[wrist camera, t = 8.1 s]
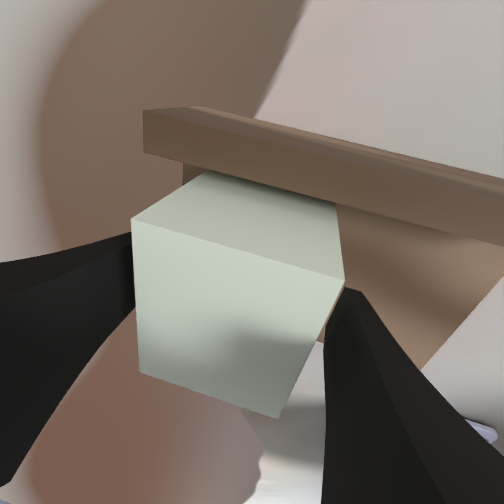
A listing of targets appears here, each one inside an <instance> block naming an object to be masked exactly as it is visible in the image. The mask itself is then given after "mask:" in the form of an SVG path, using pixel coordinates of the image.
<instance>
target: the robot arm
mask: <svg viewBox="0 0 504 504" xmlns="http://www.w3.org/2000/svg"><path fill="white" fill-rule="evenodd" d="M135 307H136V300H135V283H134V266H133V249H132V232H128V233H125V234H121V235H118V236H115V237H111V238H108V239H104V240H101V241H98V242H94V243H91V244H87V245H83V246H79V247H75V248H71V249H68V250H63V251H60V252H55V253H51V254H46V255H42V256H37V257H31V258H26V259H21V260H15V261H9V262H1V263H0V487H2V486H4V485H5V484H7V483H8V482H10V481H11V479H12V478H13V476H14V474H15V473H16V471H17V469H18V468H19V466H20V464H21V463H22V461H23V460H24V458H25V456H26V454H27V453H28V451H29V450H30V448H31V446H32V445H33V443H34V441H35V440H36V438H37V437H38V435H39V434H40V432H41V430H42V429H43V427H44V426H45V424H46V423H47V421H48V420H49V418H50V417H51V415H52V414H53V412H54V411H55V409H56V407H57V406H58V405H59V403H60V401H61V400H62V398H63V397H64V396H65V394H66V393H67V391H68V390H69V388H70V387H71V386H72V384H73V383H74V381H75V380H76V378H77V377H78V375H79V374H80V373H81V371H82V370H83V369H84V367H85V366H86V364H87V363H88V362H89V361H90V359H91V358H92V356H93V355H94V354H95V352H96V351H97V350H98V348H99V347H100V346H101V345H102V344H103V342H104V341H105V340H106V338H108V336H109V335H110V334H111V333H112V332H113V331H114V330H115V329H116V328H117V326H118V325H119V324H120V323H121V322H122V321H123V320H124V319H125V318H126V317H127V316H128V314H129V313H130V312H131V311H132V310H133V309H134V308H135ZM323 357H324V381H325V403H326V435H325V454H324V469H323V484H322V497H321V504H504V456H503V455H501V454H500V453H499V452H498V451H497V450H496V449H495V448H494V447H493V446H492V445H491V443H492V442H494V441H495V440H497V439H498V434H497V433H496V431H495V430H494V429H493V428H491V427H488V426H485V425H482V424H479V423H476V422H472V421H469V420H466V419H464V418H463V417H462V416H461V415H460V414H459V413H458V412H457V411H456V410H455V409H454V408H453V407H452V406H451V405H450V404H449V403H448V402H447V401H446V399H445V398H444V397H443V396H442V395H441V394H440V393H439V392H438V391H437V390H436V388H435V387H434V386H433V385H432V384H431V383H430V382H429V381H428V380H427V378H426V377H425V376H424V375H423V374H422V373H421V371H420V370H419V369H418V368H417V367H416V365H415V364H414V363H413V362H412V360H411V359H410V358H409V357H408V355H407V354H406V353H405V352H404V350H403V349H402V348H401V346H400V345H399V344H398V342H397V341H396V340H395V338H394V337H393V336H392V334H391V333H390V331H389V330H388V329H387V327H386V326H385V324H384V323H383V322H382V320H381V319H380V317H379V316H378V314H377V313H376V311H375V310H374V308H373V307H372V306H371V304H370V303H369V301H368V300H367V298H366V297H365V295H364V294H363V293H362V292H361V291H358V290H355V289H351V288H348V287H344V289H343V291H342V293H341V295H340V297H339V299H338V301H337V303H336V305H335V307H334V309H333V311H332V313H331V315H330V317H329V320H328V322H327V324H326V326H325V336H324V348H323ZM0 504H9V503H7V502H5V501H3V500H0Z"/></svg>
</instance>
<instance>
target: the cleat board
mask: <svg viewBox="0 0 504 504" xmlns="http://www.w3.org/2000/svg"><path fill="white" fill-rule="evenodd" d="M143 134H144V135H143V136H144V137H143V138H144V152H145V153H149V154H153V155H157V156H160V157H164V158H168V159H172V160H176V161H180V162H183V163H184V166H183V184H182V186H183V185H185V184H186V183H188V182H190V181H191V180H193V179H194V178H196V177H197V176H199V175H201V174H202V173H204V172H205V171H207V170H209V169H210V170H214V171H217V172H221V173H225V174H229V175H233V176H236V177H240V178H244V179H248V180H252V181H255V182H259V183H263V184H267V185H271V186H274V187H278V188H282V189H286V190H289V191H293V192H297V193H301V194H305V195H308V196H312V197H316V198H320V199H324V200H327V201H331V202H335V205H336V213H337V221H338V229H339V237H340V245H341V253H342V261H343V269H344V277H345V282H344V284H343V286H342V288H341V290H340V292H339V294H338V296H337V298H336V300H335V302H334V305H333V307H332V309H331V311H330V313H329V315H328V317H327V319H326V321H325V323H324V325H323V327H322V329H321V331H320V333H319V336H318V338H317V340H316V341H319V342H322V343H324V336H325V326H326V324H327V322H328V320H329V317H330V315H331V313H332V311H333V309H334V307H335V305H336V303H337V301H338V299H339V297H340V295H341V293H342V291H343V289H344V287H348V288H351V289H355V290H358V291H361V292H362V293H363V294H364V295H365V297H366V298H367V300H368V301H369V303H370V304H371V306H372V307H373V308H374V310H375V311H376V313H377V314H378V316H379V317H380V319H381V320H382V322H383V323H384V324H385V326H386V327H387V329H388V330H389V331H390V333H391V334H392V336H393V337H394V338H395V340H396V341H397V342H398V344H399V345H400V346H401V348H402V349H403V350H404V352H405V353H406V354H407V355H408V357H409V358H410V359H411V360H412V362H413V363H414V364H415V365H416V367H417V368H418V369H419V370H421V369H422V368H423V367H424V365H425V364H426V363H427V362H428V361H429V360H430V359H431V357H432V356H433V355H434V354H435V353H436V352H437V351H438V350H439V348H440V347H441V346H442V345H443V344H444V343H445V342H446V340H447V339H448V338H449V337H450V336H451V335H452V334H453V332H454V331H455V330H456V329H457V328H458V327H459V326H460V325H461V323H462V322H463V321H464V320H465V319H466V318H467V317H468V315H469V314H470V313H471V312H472V311H473V310H474V309H475V308H476V306H477V305H478V304H479V303H480V302H481V301H482V300H483V298H484V297H485V296H486V295H487V294H488V293H489V292H490V290H491V289H492V288H493V287H494V286H495V285H496V284H497V283H498V281H499V280H500V279H501V278H502V277H503V276H504V179H501V178H497V177H493V176H489V175H485V174H480V173H476V172H472V171H468V170H464V169H460V168H456V167H451V166H447V165H443V164H439V163H435V162H431V161H427V160H422V159H418V158H414V157H410V156H406V155H402V154H398V153H393V152H389V151H385V150H381V149H377V148H373V147H369V146H364V145H360V144H356V143H352V142H348V141H344V140H340V139H335V138H331V137H327V136H323V135H319V134H315V133H311V132H306V131H302V130H298V129H294V128H290V127H286V126H281V125H277V124H273V123H269V122H265V121H261V120H257V119H252V118H248V117H244V116H240V115H236V114H232V113H228V112H223V111H219V110H215V109H211V108H206V107H203V106H198V107H197V106H196V107H185V108H184V107H182V108H168V109H155V110H143Z"/></svg>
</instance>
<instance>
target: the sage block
mask: <svg viewBox="0 0 504 504" xmlns="http://www.w3.org/2000/svg"><path fill="white" fill-rule="evenodd" d="M131 232H132V249H133V266H134V283H135V300H136V317H137V334H138V352H139V369H140V372H141V373H144V374H147V375H150V376H153V377H155V378H159V379H161V380H164V381H167V382H170V383H173V384H176V385H179V386H181V387H184V388H187V389H190V390H193V391H196V392H199V393H202V394H205V395H207V396H210V397H213V398H217V399H219V400H222V401H225V402H228V403H231V404H234V405H236V406H239V407H242V408H245V409H248V410H251V411H254V412H257V413H260V414H262V415H265V416H268V417H271V418H274V419H277V420H278V418H279V416H280V414H281V412H282V410H283V408H284V406H285V404H286V402H287V400H288V398H289V396H290V393H291V391H292V389H293V387H294V385H295V383H296V381H297V379H298V377H299V375H300V373H301V371H302V369H303V367H304V364H305V362H306V360H307V358H308V356H309V354H310V352H311V350H312V348H313V346H314V344H315V342H316V340H317V338H318V336H319V333H320V331H321V329H322V327H323V325H324V323H325V321H326V319H327V317H328V315H329V313H330V311H331V309H332V307H333V305H334V302H335V300H336V298H337V296H338V294H339V292H340V290H341V288H342V286H343V284H344V282H345V277H344V269H343V261H342V253H341V245H340V237H339V229H338V221H337V213H336V205H335V202H331V201H327V200H324V199H320V198H316V197H312V196H308V195H305V194H301V193H297V192H293V191H289V190H286V189H282V188H278V187H274V186H271V185H267V184H263V183H259V182H255V181H252V180H248V179H244V178H240V177H236V176H233V175H229V174H225V173H221V172H217V171H214V170H210V169H209V170H207V171H205V172H204V173H202V174H201V175H199V176H197V177H196V178H194V179H193V180H191V181H190V182H188V183H186V184H185V185H183V186H182V187H180V188H179V189H177V190H175V191H174V192H172V193H171V194H169V195H167V196H166V197H164V198H163V199H161V200H160V201H158V202H156V203H155V204H153V205H152V206H150V207H149V208H147V209H145V210H144V211H142V212H141V213H139V214H137V215H136V216H134V217H133V218H131Z"/></svg>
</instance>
